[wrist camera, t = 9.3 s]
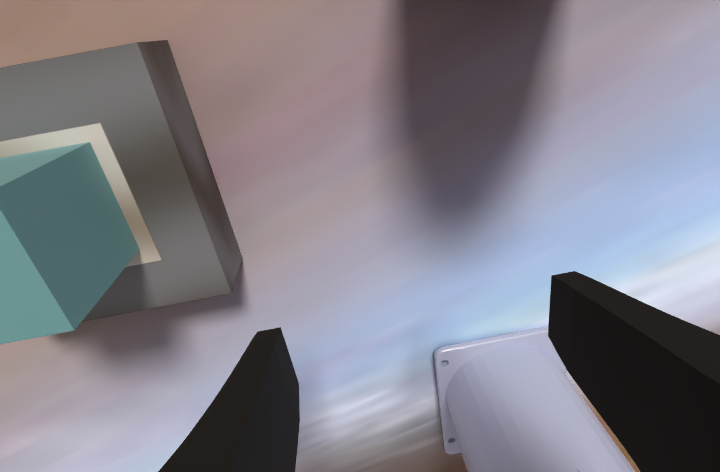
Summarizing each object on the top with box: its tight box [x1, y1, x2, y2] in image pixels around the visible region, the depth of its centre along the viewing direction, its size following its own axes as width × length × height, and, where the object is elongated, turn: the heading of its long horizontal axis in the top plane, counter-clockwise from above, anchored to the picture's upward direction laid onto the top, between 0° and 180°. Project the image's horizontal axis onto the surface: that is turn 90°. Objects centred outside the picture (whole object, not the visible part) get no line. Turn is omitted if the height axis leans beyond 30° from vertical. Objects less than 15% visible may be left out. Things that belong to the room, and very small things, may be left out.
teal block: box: [0, 142, 140, 344], centre depth 13 cm, size 4×4×5 cm
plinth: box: [0, 40, 242, 321], centre depth 17 cm, size 10×10×3 cm
